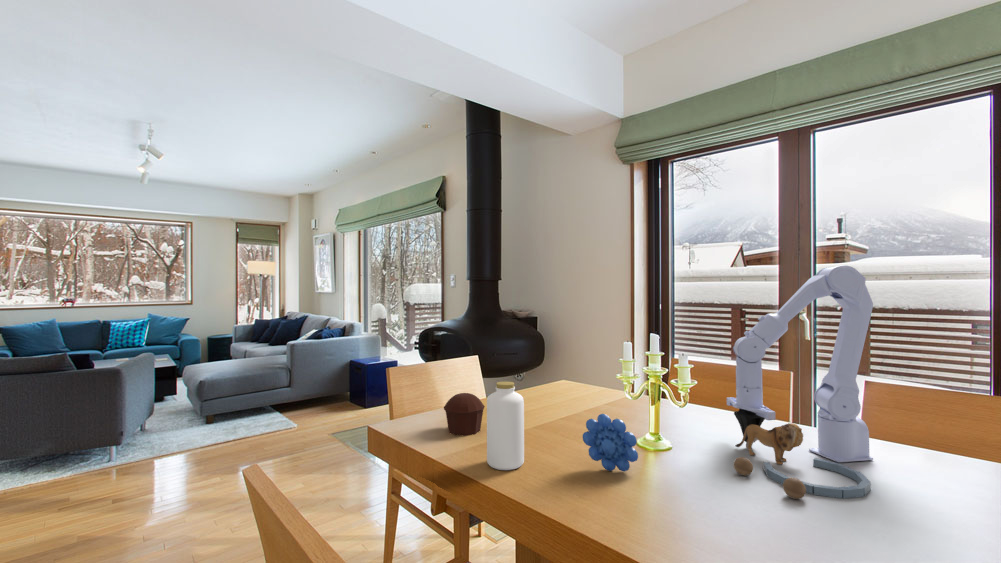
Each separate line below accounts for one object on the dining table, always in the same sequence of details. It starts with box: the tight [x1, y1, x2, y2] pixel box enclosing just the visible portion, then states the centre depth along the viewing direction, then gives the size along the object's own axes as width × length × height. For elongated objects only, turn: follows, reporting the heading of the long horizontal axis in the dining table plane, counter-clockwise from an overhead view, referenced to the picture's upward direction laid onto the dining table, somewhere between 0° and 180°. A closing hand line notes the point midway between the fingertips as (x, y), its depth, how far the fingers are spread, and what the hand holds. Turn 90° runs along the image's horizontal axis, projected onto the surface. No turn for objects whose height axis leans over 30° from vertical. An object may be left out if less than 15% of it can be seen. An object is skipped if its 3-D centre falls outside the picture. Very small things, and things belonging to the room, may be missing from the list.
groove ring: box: [762, 457, 872, 499], centre depth 91 cm, size 17×15×2 cm
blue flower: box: [582, 413, 639, 472], centre depth 95 cm, size 12×7×12 cm, turn 70°
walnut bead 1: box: [733, 456, 754, 476], centre depth 94 cm, size 4×4×4 cm
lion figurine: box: [734, 422, 804, 465], centre depth 104 cm, size 15×5×9 cm, turn 36°
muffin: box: [443, 392, 486, 437], centre depth 124 cm, size 12×11×10 cm
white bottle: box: [486, 381, 525, 471], centre depth 100 cm, size 8×8×18 cm
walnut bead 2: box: [782, 477, 807, 500], centre depth 83 cm, size 4×4×4 cm
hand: (749, 441), depth 110 cm, fingers closed
